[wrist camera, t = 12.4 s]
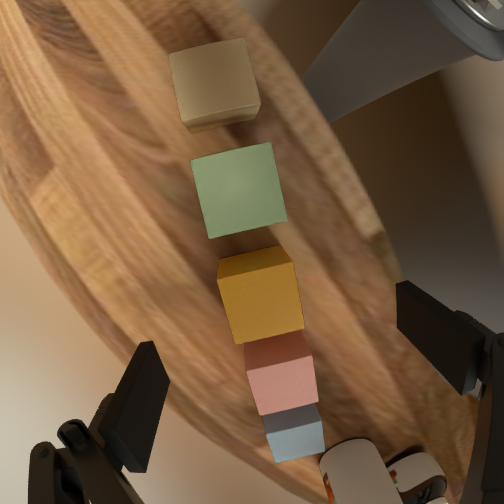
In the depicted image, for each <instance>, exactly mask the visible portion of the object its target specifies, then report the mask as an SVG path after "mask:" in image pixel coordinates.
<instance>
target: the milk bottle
mask: <svg viewBox="0 0 504 504" xmlns="http://www.w3.org/2000/svg"><path fill="white" fill-rule="evenodd" d="M319 467H320V471H321V475H322V478H323V482H324V485H325V488H326V492H327V495H328V498H329V502H330V504H403V502H402V500H401V498H400V495H399V493H398V491H397V489H396V487H395V485H394V483H393V481H392V479H391V477H390V474H389V472H388V470H387V468H386V466H385V464H384V462H383V460H382V458H381V456H380V455H379V453H378V451H377V449H376V447H375V445H374V444H373V443H372V442H370V441H369V440H366V439H353V440H349V441H346V442H343V443H341V444H338V445H337V446H335V447H333V448H332V449H330V450H329V451H328V452H326V453H325V454H324V456H323V457H322V459H321V461H320V465H319Z"/></svg>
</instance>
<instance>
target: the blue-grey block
mask: <svg viewBox="0 0 504 504" xmlns="http://www.w3.org/2000/svg"><path fill="white" fill-rule="evenodd" d="M263 420H264V427H265V434H266V437H267V440H268V443H269V446H270V449H271V452H272V455H273V458H274V461H275V463H279V462H284V461H288V460H293V459H297V458H301V457H305V456H309V455H313V454H317V453H320V452H324V451H325V445H324V437H323V429H322V421H321V418H320V415H319V413H318V410H317V407H316V404H315V403H312V404H308V405H304V406H300V407H296V408H292V409H288V410H284V411H279V412H275V413H270V414H266V415H263Z"/></svg>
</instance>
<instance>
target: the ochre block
mask: <svg viewBox="0 0 504 504" xmlns="http://www.w3.org/2000/svg"><path fill="white" fill-rule="evenodd" d="M217 283H218V286H219V290H220V294H221V297H222V301H223V304H224V308H225V311H226V315H227V318H228V322H229V325H230V329H231V332H232V336H233V339H234V342H235V344H240V343H245V342H249V341H254V340H258V339H263V338H267V337H271V336H276V335H280V334H284V333H288V332H292V331H296V330H300V329H304V328H305V325H304V319H303V313H302V307H301V302H300V296H299V291H298V285H297V280H296V275H295V270H294V264H293V261H292V260H291V258H290V257H289V256H288V254H287V253H286V252H285V250H284V249H283V248H282V246H281V245H278V246H274V247H270V248H266V249H261V250H257V251H253V252H249V253H244V254H240V255H236V256H231V257H227V258H223V259H220V260H219V267H218V274H217Z"/></svg>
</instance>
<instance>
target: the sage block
mask: <svg viewBox="0 0 504 504" xmlns="http://www.w3.org/2000/svg"><path fill="white" fill-rule="evenodd" d="M190 163H191V167H192V172H193V176H194V180H195V185H196V189H197V193H198V197H199V201H200V205H201V209H202V213H203V217H204V221H205V225H206V229H207V233H208V237H209V239H211V238H215V237H219V236H224V235H228V234H232V233H236V232H241V231H245V230H249V229H254V228H258V227H262V226H267V225H271V224H275V223H280V222H284V221H288V219H287V214H286V209H285V204H284V200H283V195H282V190H281V186H280V181H279V176H278V172H277V167H276V163H275V159H274V154H273V150H272V145H271V142H266V143H261V144H256V145H252V146H247V147H242V148H238V149H233V150H229V151H224V152H220V153H216V154H212V155H208V156H204V157H200V158H196V159H192V160H190Z"/></svg>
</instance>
